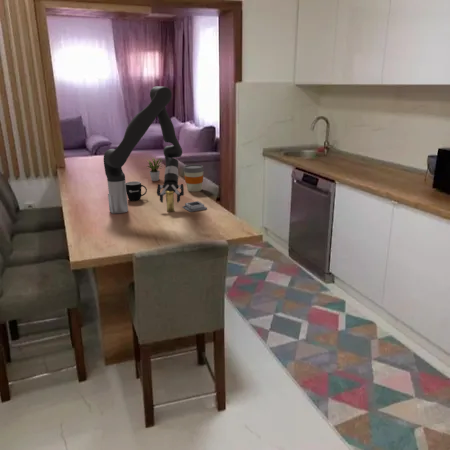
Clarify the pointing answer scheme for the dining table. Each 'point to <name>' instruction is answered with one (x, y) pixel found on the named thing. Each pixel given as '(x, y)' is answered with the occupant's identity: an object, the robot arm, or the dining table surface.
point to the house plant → (154, 169)
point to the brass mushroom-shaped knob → (170, 200)
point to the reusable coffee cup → (194, 177)
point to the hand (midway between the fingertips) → (169, 201)
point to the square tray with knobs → (194, 206)
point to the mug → (134, 190)
